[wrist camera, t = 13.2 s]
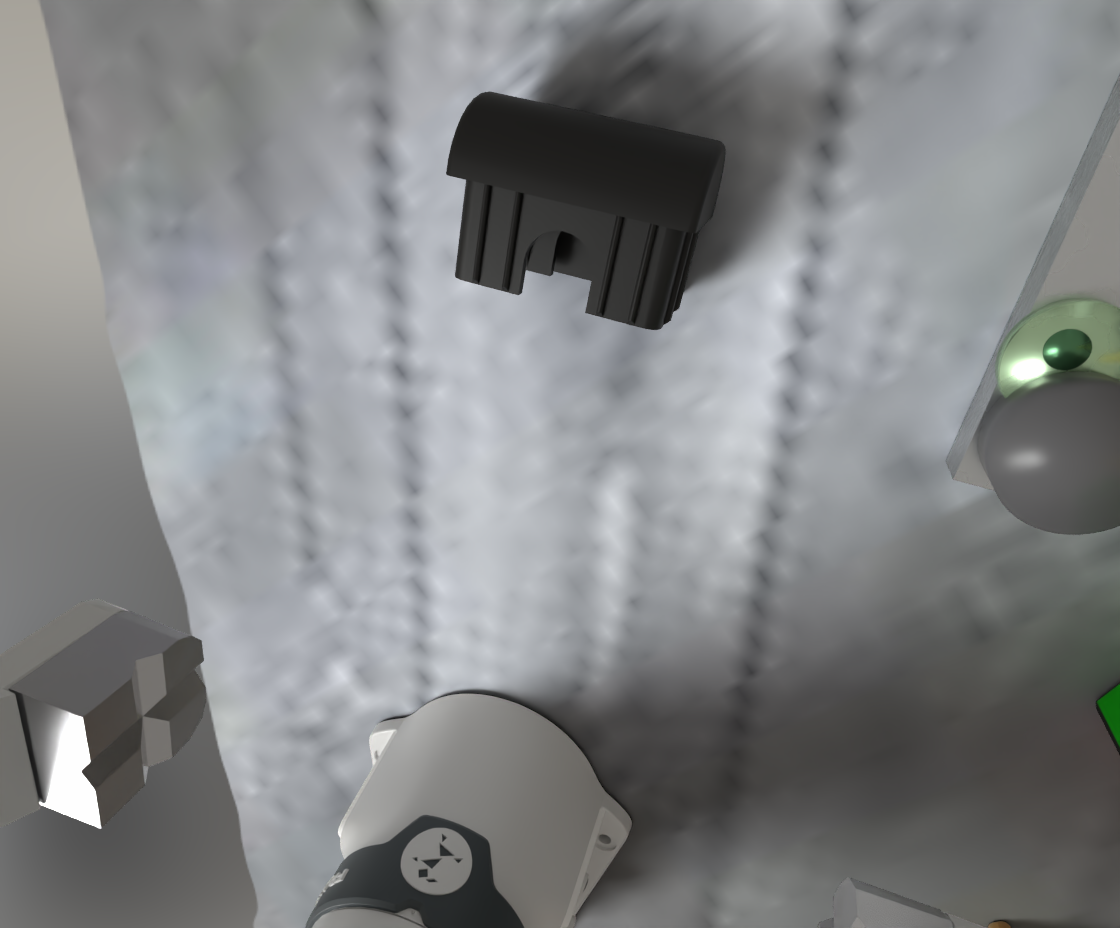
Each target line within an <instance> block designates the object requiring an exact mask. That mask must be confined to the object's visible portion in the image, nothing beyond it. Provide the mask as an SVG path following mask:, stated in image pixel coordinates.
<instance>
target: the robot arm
mask: <svg viewBox="0 0 1120 928" xmlns="http://www.w3.org/2000/svg"><path fill="white" fill-rule="evenodd" d="M203 661H204V657H203V649H202V641H201V640H199V639H197V638H195V637H193V636H191V635H189V634H186V633H184V632H181V631H179V630H176V629H174V628H171V627H169V626H166V625H164V624H161V623H159V622H156V621H154V620H151V619H149V618H146V617H144V616H141V615H139V614H136V613H134V612H132V611H128V610H126V609H123V608H121V607H118V606H116V605H113V604H110V603H108V602H105V601H103V600H100V599H93V600H88V601H83V602H81V603H79V604H78V605H76V606H74V607H73V608H71V609H70V610H68V611H67V612H65V613H64V614H62V615H61V616H59V617H57V618H56V619H54V620H53V621H51V622H50V623H48V624H47V625H46V626H44V627H42V628H41V629H39V630H37V631H36V632H35V633H33V634H31V635H30V636H28V637H27V638H25V639H24V640H22V641H21V642H19V643H18V644H16V645H14V646H13V647H11V648H10V649H8V650H7V651H5V652H4V653H2V654H1V655H0V828H1V827H3V826H5V825H8V824H10V823H12V822H14V821H16V820H18V819H20V818H22V817H24V816H26V815H28V814H31V813H33V812H35V811H37V810H39V809H40V804H41V805H43V806H46V807H48V808H51V809H53V810H56V811H58V812H61V813H63V814H66V815H68V816H71V817H73V818H76V819H78V820H81V821H83V822H86V823H89V824H91V825H93V826H96V827H98V828H102V827H103V826H104V825H105V824H106V823H107V822H108V821H109V820H110V819H111V818H112V817H113V816H114V815H115V814H116V813H117V812H118V811H119V810H120V809H121V808H122V807H123V806H124V805H125V804H126V803H127V802H129V801H130V799H132V797H134V795H136V794H137V793H138V791H140V789H142V788H143V787H144V786H145V782H146V776H147V771H148V767H150V766H152V765H155V764H158V763H160V762H163V761H165V760H168V759H171V758H173V757H174V756H175V755H176V754H177V752H178V751H179V750H180V749H181V748H182V747H183V746H184V745H185V744H186V743H187V742H188V741H189V740H190V738H191V736H192V735H193V733H194V731H195V730H196V728H197V726H198V724H199V723H200V721H201V719H202V716H203V712H204V708H205V704H206V687H205V685H204V684H203V682H202V680H201V679H200V678H199V676H198V674H197V673H196V671H195V669H196V668H197V667H198V666H199V665H200V664H201V663H202V662H203ZM369 745H370V751H371V756H372V762H373V768H372V770H371V771H370V773H369V775H368V776H367V778H366V780H365V781H364V783H363V785H362V787H361V788H360V790H359V792H358V794H357V795H356V797H355V799H354V801H353V802H352V804H351V806H350V808H349V809H348V811H347V813H346V815H345V816H344V818H343V820H342V822H341V824H340V827H339V830H338V835H339V836H340V838H341V841H340V845H341V851H342V854H343V857H344V861H343V862H342V863H341V865H340V866H339V868H338V870H337V871H336V873H335V874H334V876H333V877H332V878H331V879H330V881H328V882H327V884H326V885H325V887H324V889H323V890H322V892H321V894H320V896H319V897H318V899H317V901H316V905H315V908H314V910H313V912H312V913H311V915H310V917H309V919H308V921H307V923H306V927H305V928H574V925H575V922H576V917H575V915H576V913H577V912H578V910H579V909H580V907H581V906H582V904H583V903H584V901H585V900H586V898H587V897H588V896H589V894H590V893H591V891H592V890H593V888H594V887H595V885H596V884H597V882H598V881H599V879H600V878H601V876H602V875H603V873H604V872H605V871H606V869H607V868H608V866H609V865H610V863H611V862H612V860H613V859H614V857H615V856H616V854H617V853H618V851H619V850H620V848H621V847H622V846H623V844H624V843H625V841H626V839H627V837H628V835H629V832H630V830H631V827H632V821H631V819H630V817H629V815H628V814H627V813H626V811H625V810H624V809H623V808H622V807H621V806H620V805H619V804H618V803H617V802H616V801H615V800H614V799H613V798H612V797H611V796H610V795H608V794H607V793H606V792H605V791H604V789H603V788H602V786H601V784H600V783H599V781H598V779H597V777H596V775H595V773H594V771H593V769H592V767H591V765H590V763H589V762H588V760H587V758H586V757H585V755H584V754H583V753H582V751H581V750H580V749H579V748H578V746H577V745H576V744H575V743H574V742H573V741H572V740H571V739H570V738H569V737H568V736H567V735H566V734H565V733H564V732H563V731H562V730H561V729H559V728H558V727H557V726H556V725H554V724H553V723H551V722H550V721H549V720H547V719H546V718H544V717H543V716H541V715H539V714H537V713H536V712H534V711H532V710H530V709H528V708H526V707H524V706H521V705H519V704H517V703H514V702H511V701H508V700H505V699H502V698H498V697H493V696H488V695H482V694H455V695H449V696H445V697H441V698H438V699H436V700H433V701H431V702H429V703H427V704H426V705H424V706H423V707H421V708H420V709H419V710H417V711H416V712H415V713H413V714H412V715H410V716H408V717H406V718H400V719H393V720H387V721H383V722H380V723H378V724H377V725H376V726H375V728H374V730H373V732H372V733H371V735H370V738H369ZM833 911H834V917H833V918H830V919H827V920H824V921H821V922H819V924H818V926H817V928H987V927H984V926H981V925H979V924H976V923H973V922H970V921H968V920H965V919H962V918H960V917H957V916H954V915H951V914H949V913H943V912H942V911H941V910H940V909H937V908H934V907H931V906H929V905H926V904H923V903H920V902H917V901H915V900H912V899H909V898H906V897H903V896H901V895H898V894H895V893H892V892H889V891H886V890H884V889H881V888H878V887H875V886H872V885H870V884H867V883H864V882H861V881H858V880H856V879H853V878H850V877H848V878H847V879H845V880H844V881H843V882H841V884H840V885H839V887H838V889H837V891H836V893H835V894H834V896H833Z"/></svg>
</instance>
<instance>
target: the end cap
mask: <svg viewBox="0 0 1120 928" xmlns="http://www.w3.org/2000/svg"><path fill="white" fill-rule="evenodd" d="M724 161H725V146H724V144H723V143H722V142H721V141H718V140H713V139H709V138H704V137H699V136H695V135H690V134H685V133H681V132H676V131H671V130H667V129H662V128H657V127H653V126H648V125H643V124H639V123H634V122H629V121H625V120H620V119H615V118H611V117H606V116H601V115H597V114H592V113H587V112H583V111H578V110H573V109H569V108H564V107H559V106H555V105H550V104H545V103H541V102H536V101H531V100H527V99H522V98H517V97H513V96H508V95H503V94H499V93H494V92H484V93H481V94H479V95H478V96H477V97H475V98H474V99H473V100H472V101H471V103H470V104H469V105H468V106H467V108H466V110H465V111H464V113H463V115H462V117H461V119H460V122H459V124H458V126H457V129H456V132H455V135H454V138H453V141H452V145H451V149H450V154H449V158H448V165H447V172H446V174H447V175H449V176H453V177H457V178H461V179H466V186H465V195H464V203H463V212H462V221H461V229H460V238H459V246H458V255H457V263H456V272H455V277H456V278H458V279H460V280H463V281H467V282H471V283H475V284H478V285H482V286H486V287H490V288H493V289H497V290H501V291H505V292H509V293H512V294H516V295H519V294H521V293H522V289H523V283H524V277H525V270H528V271H532V272H536V273H540V274H544V275H548V276H551V275H553V271H555V272H559V273H563V274H567V275H571V276H574V277H578V278H582V279H586V280H590V281H592V282H591V287H590V292H589V297H588V302H587V307H586V312H585V313H588V314H592V315H595V316H599V317H603V318H607V319H611V320H614V321H618V322H622V323H626V324H629V325H633V326H637V327H641V328H645V329H651V330H658V329H661V328H662V327H663V325H664V324H666V323H668V322H669V321H671V318H672V314H673V312H674V311H676V310H677V309H679V307H680V303H681V299H682V295H683V292H684V288H685V284H686V280H687V276H688V272H689V269H690V265H691V261H692V257H693V253H694V249H695V246H696V242H697V238H698V234H699V230H700V229H701V228H702V227H703V226H704V225H705V224H706V223H707V222H708V221H709V220H710V219H711V218H712V216H713V212H714V208H715V204H716V200H717V196H718V192H719V187H720V183H721V178H722V173H723V167H724Z"/></svg>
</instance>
